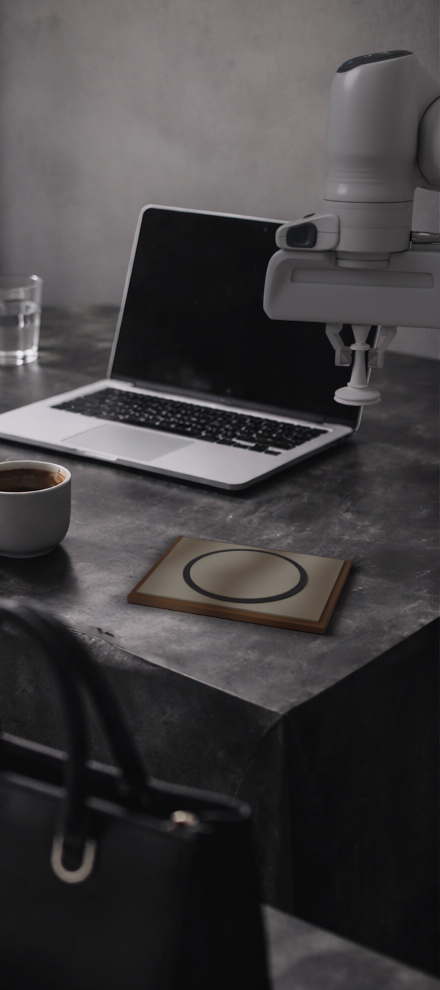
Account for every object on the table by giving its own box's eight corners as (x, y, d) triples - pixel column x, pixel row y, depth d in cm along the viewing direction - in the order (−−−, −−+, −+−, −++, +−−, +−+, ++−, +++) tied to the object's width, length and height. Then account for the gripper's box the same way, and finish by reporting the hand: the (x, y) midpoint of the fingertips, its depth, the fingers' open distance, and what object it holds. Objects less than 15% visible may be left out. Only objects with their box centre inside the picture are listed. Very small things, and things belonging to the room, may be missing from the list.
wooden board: (352, 566, 86) (353, 556, 85) (324, 635, 74) (324, 623, 74) (179, 541, 90) (179, 531, 89) (126, 602, 78) (126, 591, 78)
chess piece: (324, 398, 104) (328, 304, 100) (355, 390, 107) (360, 298, 103) (359, 408, 100) (364, 311, 97) (390, 400, 103) (397, 305, 100)
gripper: (475, 229, 97) (462, 365, 102) (275, 223, 103) (272, 353, 108) (472, 237, 92) (459, 380, 97) (260, 230, 97) (258, 366, 102)
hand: (359, 366), depth 102 cm, fingers closed on chess piece
